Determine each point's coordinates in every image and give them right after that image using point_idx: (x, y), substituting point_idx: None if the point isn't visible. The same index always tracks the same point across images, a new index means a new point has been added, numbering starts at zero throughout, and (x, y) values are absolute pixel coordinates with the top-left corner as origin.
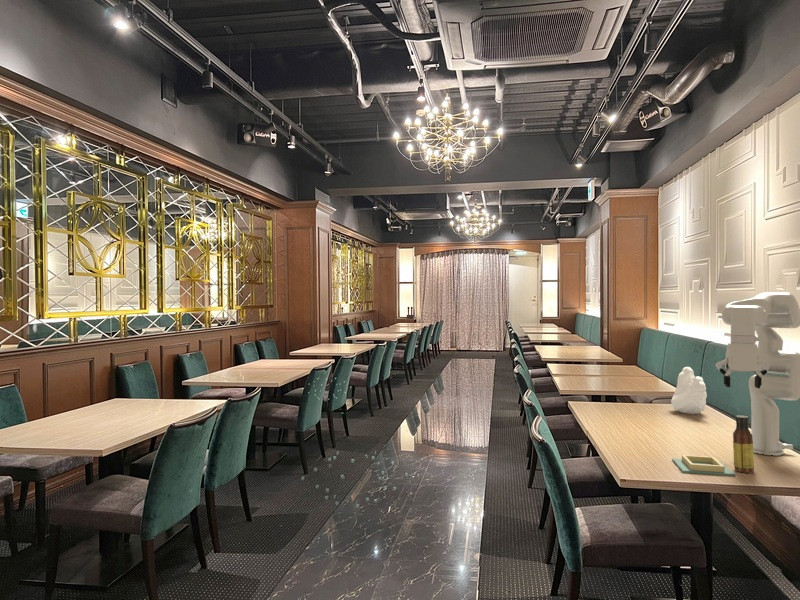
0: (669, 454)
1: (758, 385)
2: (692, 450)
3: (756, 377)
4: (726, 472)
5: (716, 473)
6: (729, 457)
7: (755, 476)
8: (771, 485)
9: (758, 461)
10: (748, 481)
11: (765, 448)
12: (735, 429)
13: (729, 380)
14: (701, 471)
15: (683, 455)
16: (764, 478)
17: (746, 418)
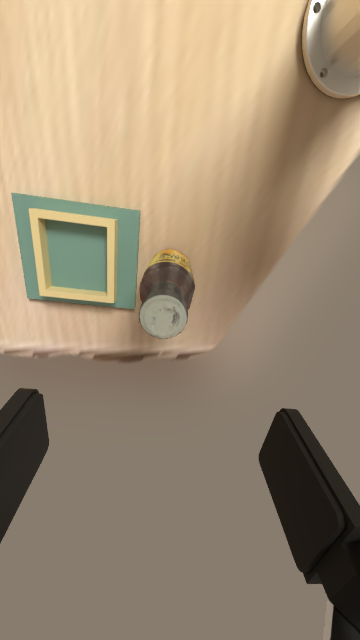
0: (12, 113)
1: (270, 479)
2: (101, 34)
3: (315, 549)
4: (119, 300)
5: (97, 305)
6: (192, 133)
7: None
8: (178, 348)
9: (253, 173)
10: None
11: (342, 65)
12: (147, 285)
13: (5, 517)
14: (67, 300)
15: (32, 213)
16: None
17: (171, 335)
